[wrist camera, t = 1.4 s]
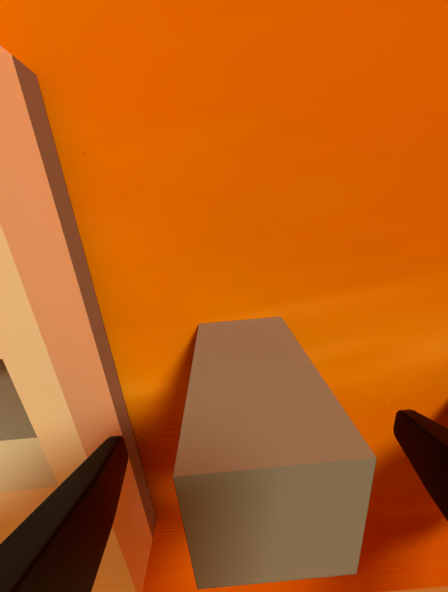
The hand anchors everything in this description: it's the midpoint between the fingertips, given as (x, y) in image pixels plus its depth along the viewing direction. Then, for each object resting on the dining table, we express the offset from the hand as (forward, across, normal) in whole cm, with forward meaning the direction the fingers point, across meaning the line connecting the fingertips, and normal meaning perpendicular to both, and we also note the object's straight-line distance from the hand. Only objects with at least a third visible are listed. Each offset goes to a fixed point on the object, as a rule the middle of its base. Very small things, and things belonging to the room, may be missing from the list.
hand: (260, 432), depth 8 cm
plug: (+4, 0, 0) cm, 5 cm away
